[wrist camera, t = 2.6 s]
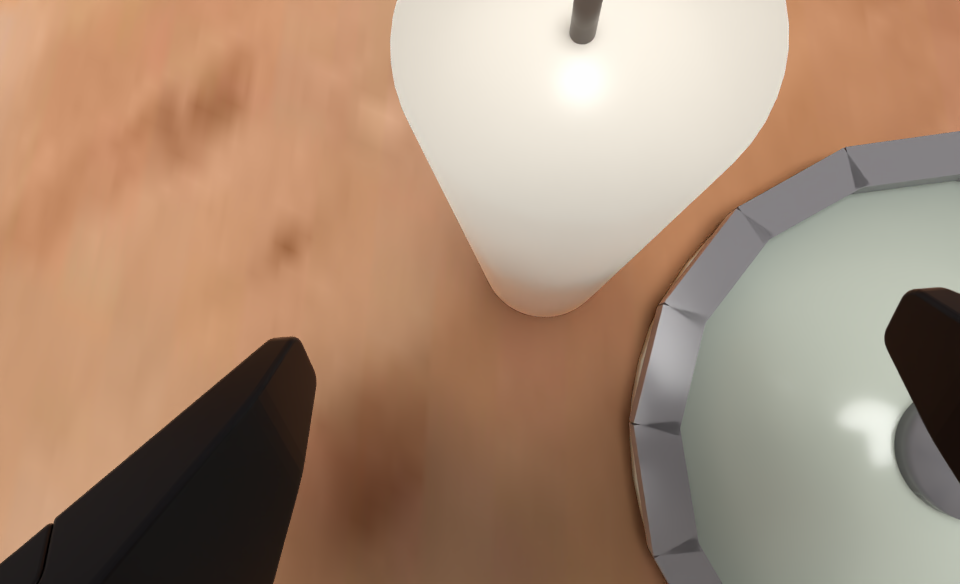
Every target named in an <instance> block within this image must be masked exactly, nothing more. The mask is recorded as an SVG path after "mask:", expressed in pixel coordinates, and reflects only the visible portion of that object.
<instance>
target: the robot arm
mask: <svg viewBox="0 0 960 584" xmlns="http://www.w3.org/2000/svg"><path fill="white" fill-rule="evenodd" d="M884 342H885V346H886V349H887V351H888V353H889V355H890V357H891V359H892V361H893V363H894V365H895V367H896V369H897V371H898V373H899V375H900V377H901V379H902V381H903V383H904V385H905V387H906V389H907V391H908V393H909V395H910V397H911V399H912V401H913V403H914V405H915V407H916V409H917V412H918V414H919V416H920V418H921V420H922V422H923V424H924V426H925V427H926V429H927V431H928V433H929V435H930V437H931V439H932V440H933V442H934V444H935V445H936V447H937V449H938V450H939V452H940V454H941V455H942V457H943V459H944V460H945V462H946V463H947V465H948V466H949V468H950V470H951V471H952V473H953V474H954V476H955V477H956V479H957V481H958V482H959V484H960V293H957V292H955V291H952V290H950V289H947V288H942V287H932V288H919V289H912V290H909V291H908V292H907V293H905V294H904V295H903V296H902V298H901V300H900V302H899V304H898V306H897V308H896V310H895V312H894V314H893V316H892V318H891V320H890V322H889V324H888V326H887V328H886V330H885V334H884ZM315 391H316V375H315V372H314V369H313V367H312V365H311V362H310V360H309V358H308V356H307V353H306V351H305V349H304V347H303V345H302V343H301V341H300V340H299V339H298V338H296V337H280V338H273V339H270V340H268V341H267V342H266V343H264V344H263V345H262V346H261V347H260V348H258V349H257V350H256V351H255V352H254V353H252V354H251V355H250V356H249V357H248V358H246V359H245V360H244V361H243V362H242V363H240V364H239V365H238V366H237V367H236V368H234V369H233V370H232V371H231V372H230V373H229V374H227V375H226V376H225V377H224V378H223V379H221V380H220V381H219V382H218V383H217V384H215V385H214V386H213V387H212V388H211V389H209V390H208V391H207V392H206V393H205V394H203V395H202V396H201V397H200V398H199V399H197V400H196V401H195V402H194V403H193V404H191V405H190V406H189V407H188V408H187V409H185V410H184V411H183V412H182V413H181V414H179V415H178V416H177V417H176V418H175V419H174V420H172V421H171V422H170V423H169V424H168V425H166V426H165V427H164V428H163V429H162V430H160V431H159V432H158V433H157V434H156V435H154V436H153V437H152V438H151V439H150V440H148V441H147V442H146V443H145V444H144V445H142V446H141V447H140V448H139V449H138V450H136V451H135V452H134V453H133V454H132V455H130V456H129V457H128V458H127V459H126V460H124V461H123V462H122V463H121V464H120V465H118V466H117V467H116V468H115V469H114V470H112V471H111V472H110V473H109V474H108V475H106V476H105V477H104V478H103V479H102V480H100V481H99V482H98V483H97V484H96V485H94V486H93V487H92V488H91V489H90V490H89V491H87V492H86V493H85V494H84V495H83V496H81V497H80V498H79V499H78V500H77V501H75V502H74V503H73V504H72V505H71V506H69V507H68V508H67V509H66V510H65V511H63V512H62V513H61V514H60V515H59V516H57V517H56V518H55V520H54V524H52V523H51V524H48V525H46V526H45V527H44V528H43V529H42V530H40V531H39V532H38V533H37V534H36V535H34V536H33V537H32V538H31V539H30V540H29V541H27V542H26V543H25V544H24V545H23V546H21V547H20V548H19V549H18V550H17V551H15V552H14V553H13V554H12V555H10V556H9V557H8V558H7V559H5V560H4V561H3V562H2V563H1V564H0V584H273V582H274V579H275V575H276V571H277V568H278V564H279V560H280V557H281V553H282V549H283V545H284V542H285V538H286V534H287V531H288V527H289V523H290V520H291V516H292V512H293V508H294V505H295V501H296V497H297V494H298V490H299V486H300V482H301V478H302V473H303V468H304V462H305V456H306V450H307V443H308V437H309V430H310V424H311V417H312V410H313V404H314V397H315Z"/></svg>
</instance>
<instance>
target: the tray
mask: <svg viewBox="0 0 960 584" xmlns="http://www.w3.org/2000/svg"><path fill="white" fill-rule="evenodd" d="M932 287H942V288H947V289H950V290H952V291H955V292H957V293H960V131H958V132H951V133H943V134H936V135H929V136H922V137H915V138H907V139H900V140H893V141H886V142H879V143H871V144H864V145H857V146H850V147H845V148H842V149H841V150H839V151H837V152H835V153H834V154H832V155H830V156H828V157H826V158H825V159H823V160H821V161H819V162H817V163H816V164H814V165H812V166H810V167H809V168H807V169H805V170H803V171H801V172H800V173H798V174H796V175H794V176H793V177H791V178H789V179H787V180H785V181H784V182H782V183H780V184H778V185H777V186H775V187H773V188H771V189H769V190H768V191H766V192H764V193H762V194H761V195H759V196H757V197H755V198H753V199H752V200H750V201H748V202H746V203H744V204H743V205H741V206H739V207H738V208H736V209H735V210H733V211H732V212H731V213H729V214H728V215H727V216H726V217H725V219H724V220H723V221H722V222H721V224H720V225H719V226H718V228H717V229H716V230H715V232H714V233H713V234H712V235H711V236H710V237H709V238H708V239H707V240H706V241H705V243H704V244H703V245H702V246H701V247H700V248H699V249H698V250H697V252H696V253H695V254H694V255H693V256H692V257H691V258H690V260H689V261H688V262H687V263H686V264H685V266H684V267H683V269H682V270H681V272H680V273H679V275H678V276H677V278H676V279H675V281H674V282H673V284H672V285H671V287H670V288H669V290H668V291H667V293H666V294H665V296H664V298H663V299H662V300H661V302H660V303H659V304H658V305H659V306H658V307H657V309H656V313H655V317H654V319H653V321H652V323H651V325H650V327H649V330H648V333H647V336H646V339H645V342H644V345H643V349H642V352H641V355H640V358H639V361H638V365H637V371H636V376H635V382H634V387H633V393H632V398H631V413H630V417H629V420H630V422H629V428H630V450H631V462H632V474H633V481H634V485H635V490H636V495H637V499H638V504H639V509H640V513H641V518H642V521H643V524H644V528H645V534H646V541H647V547H648V548H649V551H650V553H651V555H652V556H653V558H654V560H655V562H656V563H657V565H658V567H659V569H660V570H661V572H662V574H663V576H664V577H665V579H666V581H667V583H668V584H960V484H959V482H958V481H957V479H956V477H955V476H954V474H953V473H952V471H951V470H950V468H949V466H948V465H947V463H946V462H945V460H944V459H943V457H942V455H941V454H940V452H939V450H938V449H937V447H936V445H935V444H934V442H933V440H932V439H931V437H930V435H929V433H928V431H927V429H926V427H925V426H924V424H923V422H922V420H921V418H920V416H919V414H918V412H917V409H916V407H915V405H914V403H913V401H912V399H911V397H910V395H909V393H908V391H907V389H906V387H905V385H904V383H903V381H902V379H901V377H900V375H899V373H898V371H897V369H896V367H895V365H894V363H893V361H892V359H891V357H890V355H889V353H888V351H887V349H886V346H885V342H884V334H885V330H886V328H887V326H888V324H889V322H890V320H891V318H892V316H893V314H894V312H895V310H896V308H897V306H898V304H899V302H900V300H901V298H902V296H903V295H904V294H905V293H907V292H908V291H909V290H912V289H919V288H932Z"/></svg>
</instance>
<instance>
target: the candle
mask: <svg viewBox="0 0 960 584" xmlns="http://www.w3.org/2000/svg"><path fill="white" fill-rule="evenodd" d="M390 47H391V66H392V72H393V78H394V84H395V88H396V91H397V95H398V98H399V101H400V104H401V107H402V110H403V112H404V114H405V116H406V118H407V120H408V122H409V124H410V126H411V128H412V130H413V132H414V134H415V136H416V138H417V140H418V142H419V144H420V146H421V148H422V150H423V152H424V154H425V156H426V158H427V160H428V162H429V164H430V166H431V168H432V170H433V172H434V174H435V176H436V178H437V180H438V182H439V184H440V186H441V188H442V190H443V192H444V194H445V196H446V198H447V200H448V202H449V204H450V206H451V208H452V210H453V212H454V214H455V216H456V218H457V220H458V222H459V224H460V226H461V228H462V230H463V232H464V234H465V236H466V238H467V240H468V242H469V244H470V246H471V248H472V250H473V252H474V254H475V256H476V258H477V260H478V262H479V264H480V266H481V268H482V270H483V272H484V274H485V276H486V278H487V280H488V282H489V284H490V286H491V288H492V289H493V291H494V292H495V294H496V295H497V296H498V297H499V298H500V299H501V300H502V301H503V302H504V303H505V304H507V305H508V306H510V307H511V308H513V309H514V310H516V311H518V312H521V313H524V314H526V315H530V316H535V317H554V316H559V315H563V314H566V313H569V312H571V311H573V310H575V309H577V308H578V307H580V306H581V305H583V304H584V303H585V302H586V301H587V300H588V299H590V298H591V297H592V296H593V295H594V294H595V293H596V292H597V291H598V290H599V289H600V288H601V287H602V286H603V285H604V284H606V283H607V282H608V281H609V280H610V279H611V278H612V277H613V276H614V275H615V274H616V273H617V272H618V271H619V270H620V269H621V268H622V267H624V266H625V265H626V264H627V263H628V262H629V261H630V260H631V259H632V258H633V257H634V256H635V255H636V254H637V253H638V252H639V251H641V250H642V249H643V248H644V247H645V246H646V245H647V244H648V243H649V242H650V241H651V240H652V239H653V238H654V237H655V236H656V235H658V234H659V233H660V232H661V231H662V230H663V229H664V228H665V227H666V226H667V225H668V224H669V223H670V222H671V221H672V220H673V219H675V218H676V217H677V216H678V215H679V214H680V213H681V212H682V211H683V210H684V209H685V208H686V207H687V206H688V205H689V204H690V203H692V202H693V201H694V200H695V199H696V198H697V197H698V196H699V195H700V194H701V193H702V192H703V191H704V190H705V189H706V188H707V187H709V186H710V185H711V184H712V183H713V182H714V181H715V180H716V179H717V178H718V177H719V176H720V175H721V174H722V173H723V172H724V171H726V170H727V169H728V168H729V167H730V166H731V165H732V164H733V163H734V162H735V161H736V160H737V158H738V157H739V156H740V155H741V154H742V153H743V152H744V151H745V149H746V148H747V147H748V146H749V145H750V144H751V143H752V141H753V140H754V138H755V137H756V135H757V134H758V132H759V131H760V129H761V128H762V126H763V125H764V123H765V122H766V120H767V118H768V116H769V114H770V111H771V109H772V107H773V105H774V103H775V101H776V99H777V96H778V93H779V90H780V87H781V84H782V80H783V77H784V74H785V68H786V62H787V56H788V50H789V21H788V14H787V7H786V0H397V3H396V7H395V11H394V15H393V20H392V29H391V38H390Z"/></svg>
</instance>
